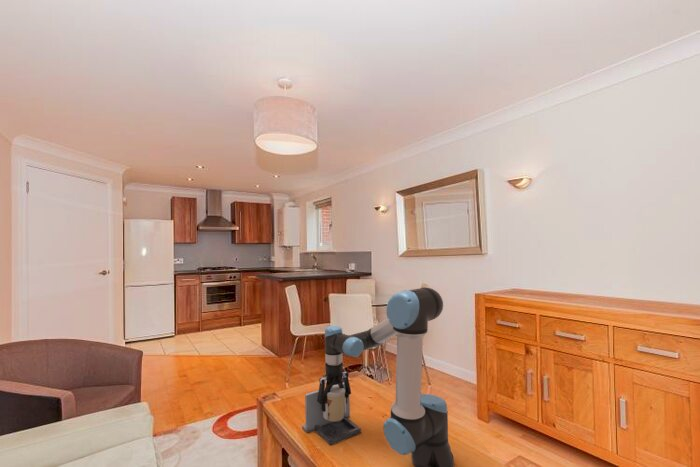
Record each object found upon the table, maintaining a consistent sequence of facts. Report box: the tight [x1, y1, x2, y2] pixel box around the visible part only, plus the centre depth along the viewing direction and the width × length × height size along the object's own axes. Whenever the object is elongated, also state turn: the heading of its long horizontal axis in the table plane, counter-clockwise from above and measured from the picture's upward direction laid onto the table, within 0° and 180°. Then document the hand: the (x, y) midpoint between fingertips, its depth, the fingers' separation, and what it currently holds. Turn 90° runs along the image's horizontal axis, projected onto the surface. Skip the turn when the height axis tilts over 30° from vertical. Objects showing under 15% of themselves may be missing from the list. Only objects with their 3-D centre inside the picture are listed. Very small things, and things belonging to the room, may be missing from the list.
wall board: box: [301, 383, 351, 434], centre depth 152 cm, size 5×22×16 cm, turn 124°
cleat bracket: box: [315, 416, 362, 446], centre depth 144 cm, size 14×15×2 cm
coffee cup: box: [324, 385, 345, 421], centre depth 146 cm, size 9×9×12 cm
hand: (334, 414), depth 146 cm, fingers closed on coffee cup, 9 cm apart
